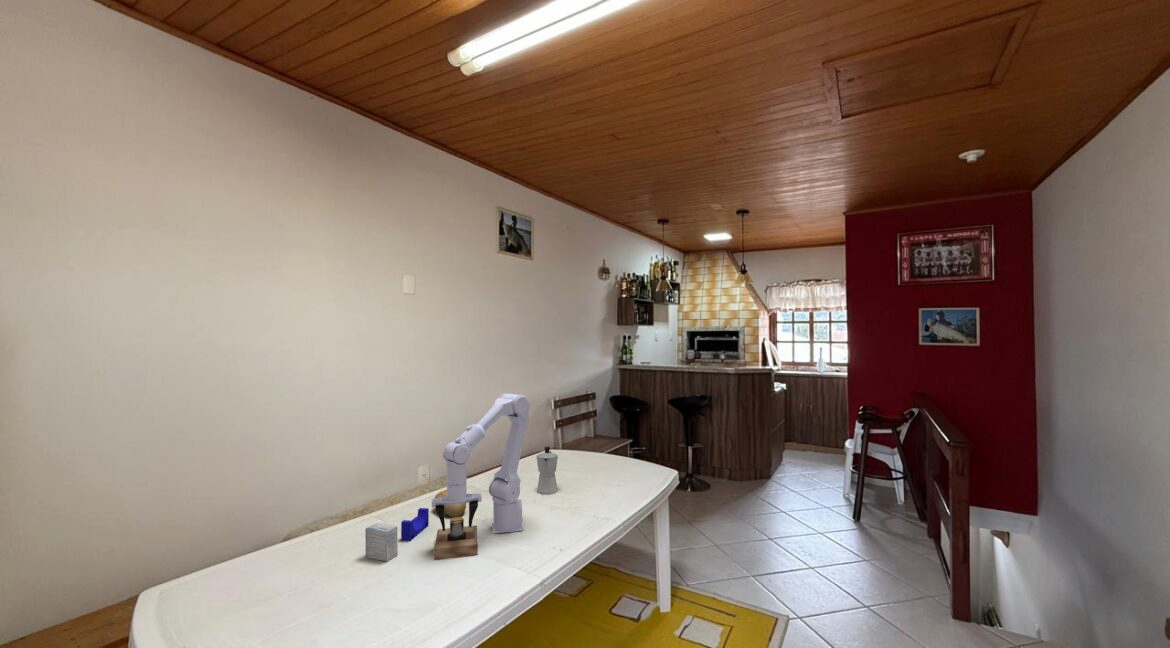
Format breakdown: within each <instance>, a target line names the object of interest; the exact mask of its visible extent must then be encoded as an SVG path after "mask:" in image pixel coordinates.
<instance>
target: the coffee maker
mask: <svg viewBox="0 0 1170 648" xmlns="http://www.w3.org/2000/svg"><path fill="white" fill-rule="evenodd" d="M543 448H544V452H542V453H539V454H538V455H536V462H537V463H536V464H537V469H538V472H539V477H538V482H537V483H538V484H537V489H536V493H537V494H540V495H553V494H556V493H555V492H557V493H558V484H557V479H556V471H557V464H558V457H559V455H558V454H557V453H555V452H552V451H551V447H550V446H547V445H546V446H544V447H543Z"/></svg>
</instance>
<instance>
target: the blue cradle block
mask: <svg viewBox="0 0 1170 648" xmlns="http://www.w3.org/2000/svg"><path fill="white" fill-rule="evenodd" d="M429 513H430V511H429V508H427V507H419V508H418V509H417V515H416V516H415V517H414V518H413V519H412V518H411V520H407V519H404V520H403V519H402V521H401V524H400V525H401V526H400V533H401V534H400V541H401V542H411V541H413V540H414V539H415V538H416V537H417V536H418V535H420V534H421V533H422V532H423V531H424V530H425V529H427V528H428V527H429V525H430V523H429V518H430V517H429V515H430V514H429Z"/></svg>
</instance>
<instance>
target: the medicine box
mask: <svg viewBox="0 0 1170 648" xmlns="http://www.w3.org/2000/svg"><path fill="white" fill-rule="evenodd" d="M364 532H365V536H364V537H365V558H366V559H371V560H378V561H382V562H384V561H385V562H389V561H391V560H392V559H394V558H395V557H397V556H398V554H399V553H398V549H399V547H398V525H394V524H387V523H379V522H375V523H373V524H371V525H369V526H367V527H366V528H365V531H364Z"/></svg>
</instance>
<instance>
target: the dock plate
mask: <svg viewBox="0 0 1170 648" xmlns="http://www.w3.org/2000/svg"><path fill="white" fill-rule="evenodd" d="M478 543H479V541H478V525H472V527H470V528H469V525H467V526H464V540H456V541H450V527H448V528H445V531H443V529H442V528H440V529H437V532H436V537H435V545H434V550H433V551H434V558H433V559H434V561H435V560H446V559H452V558H459V557H460V558H461V557H462V558H463V557H470V556H477V555H478V551H479V549H478V548H479V547H478V545H479V544H478Z"/></svg>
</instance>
